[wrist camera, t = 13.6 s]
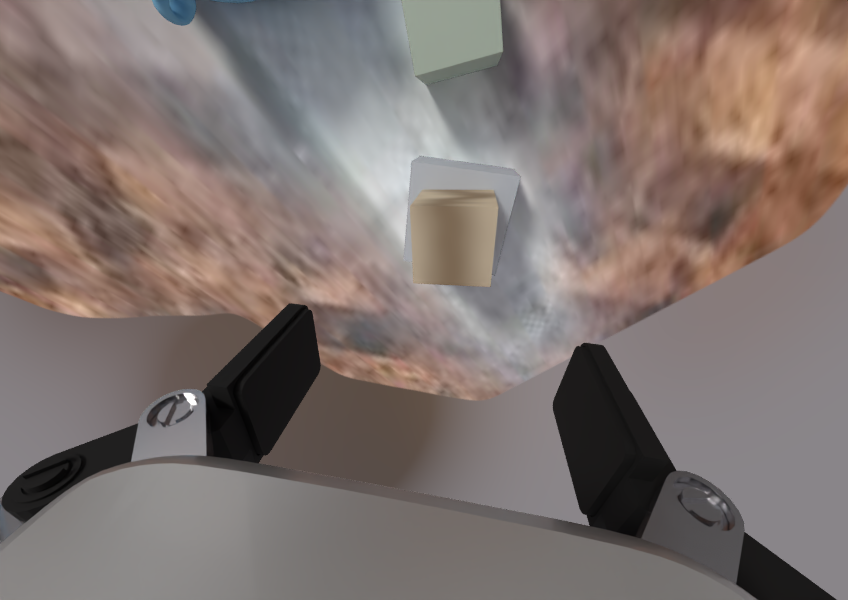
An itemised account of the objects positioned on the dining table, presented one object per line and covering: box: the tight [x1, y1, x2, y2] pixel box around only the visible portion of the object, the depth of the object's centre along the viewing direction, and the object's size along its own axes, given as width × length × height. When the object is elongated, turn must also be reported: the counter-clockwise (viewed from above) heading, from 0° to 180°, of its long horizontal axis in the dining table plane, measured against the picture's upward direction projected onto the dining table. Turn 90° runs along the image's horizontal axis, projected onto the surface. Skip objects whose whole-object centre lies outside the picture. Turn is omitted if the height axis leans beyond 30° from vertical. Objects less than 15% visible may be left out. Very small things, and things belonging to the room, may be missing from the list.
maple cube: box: [410, 190, 498, 287], centre depth 25 cm, size 6×6×6 cm
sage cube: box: [401, 0, 503, 85], centre depth 22 cm, size 6×6×6 cm
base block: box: [404, 156, 521, 276], centre depth 29 cm, size 9×9×5 cm
